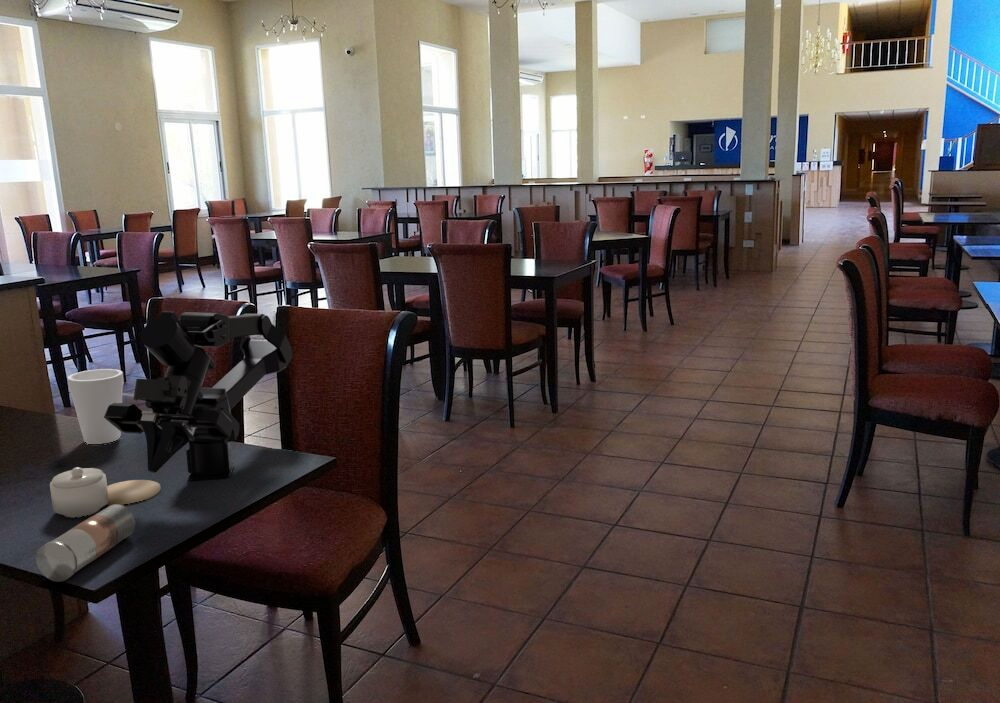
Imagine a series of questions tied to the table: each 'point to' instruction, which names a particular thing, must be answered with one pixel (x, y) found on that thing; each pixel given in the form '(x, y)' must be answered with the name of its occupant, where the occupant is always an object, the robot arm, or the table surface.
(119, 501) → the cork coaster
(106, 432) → the foam cup
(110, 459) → the table surface
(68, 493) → the sugar bowl
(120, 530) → the tea canister
